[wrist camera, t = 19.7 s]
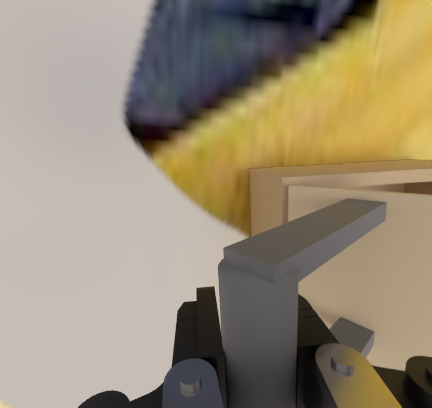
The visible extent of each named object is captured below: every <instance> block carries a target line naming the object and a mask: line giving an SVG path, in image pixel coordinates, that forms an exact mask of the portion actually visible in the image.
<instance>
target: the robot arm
mask: <svg viewBox="0 0 432 408" xmlns="http://www.w3.org/2000/svg"><path fill="white" fill-rule="evenodd" d="M78 408H227V400H226V380H225V360H224V350H223V346H222V336H221V330H220V323H219V316H218V309H217V303H216V296H215V289H214V286H213V287H203V288H197V301H193V302H192V301H191V302H184V303H183V304H182V306H181V307H180V308H179V310H178V313H177V323H176V332H175V342H174V350H173V360H172V368H171V369H170V370H169V372H168V373H167V375H166V376H165V379H164V382H163V383H162V384H161V385H160V386H159V387H158V388H157V389H155V390H154V391H152V392H150V393H148V394H146V395H144V396H142V397H140V398H137V399H135V400H133V401H129V399H128V397H127V396H126V395H125V394H123V393H121V392H119V391H105V392H102V393H98V394H96V395H94V396H92V397H91V398H89V399H87V400H86V401H85V402H83V403H82V404H81V405H80V406H79V407H78ZM296 408H432V357H428V356H413V357H411V358H409V359H408V360H407V362H406V367H405V371H402V370H396V369H390V368H383V367H378V366H373V365H371V364H370V363H369V361H368V360H367V359H366V358H365V357H364V356H363V355H362V354H361V353H359V352H358V351H356V350H355V349H353V348H351V347H348V346H346V345H342V344H340V343H339V342H338V340H337V339H336V338H335V336H334V335H333V334H332V332H331V331H330V330H329V329H328V327H327V326H326V325H325V323H324V322H323V321H322V319H321V318H320V317H318V314H317V313H316V311H315V310H314V309H313V308H312V306H311V305H310V304H309V302H308V301H307V300H306V299H305V298H304V297H302V296H301V295H299V294H298V323H297V371H296Z"/></svg>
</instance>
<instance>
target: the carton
mask: <svg viewBox="0 0 432 408" xmlns="http://www.w3.org/2000/svg"><path fill="white" fill-rule="evenodd" d="M249 175H250V221H251V237H252V236H255V235H257V234H260V233H262V232H265V231H267V230H270V229H272V228H275V227H277V226H280V225H282V224H285V223H287V222H288V193H289V185H303V186H317V187H331V188H345V189H358V190H372V191H386V192H400V193H414V194H428V195H432V160H413V159H408V160H391V161H373V162H356V163H338V164H321V165H303V166H286V167H268V168H251V169H249Z"/></svg>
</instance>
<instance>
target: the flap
mask: <svg viewBox="0 0 432 408" xmlns="http://www.w3.org/2000/svg"><path fill="white" fill-rule="evenodd" d="M218 275H219V295H220V313H221V334H222V346H223V350H224V360H225V380H226V400H227V408H296V371H297V323H298V294H299V295H301V296H302V297H304V298H305V299H306V300H307V301H308V302H309V304H310V305H311V306H312V308H313V309H314V310H315V311H316V313H317V314H318V317H320V318H321V319H322V321H323V322H324V323H325V325H326V326H327V327H328V329H329V330H330V331H331V332H332V334H333V335H334V336H335V338H336V339H337V340H338V342H339V343H340V344H342V345H346V346H348V347H351V348H353V349H355V350H356V351H358V352H359V353H361V354H362V355H363V356H364V357H365V358H366V359H367V360H368V361H369V363H370V364H371V365H373V366H378V367H383V368H390V369H396V370H402V371H405V367H406V362H407V360H408V359H409V358H411V357H413V356H428V357H432V195H428V194H414V193H400V192H386V191H372V190H358V189H345V188H331V187H317V186H303V185H289V193H288V222H287V223H285V224H282V225H280V226H277V227H275V228H272V229H270V230H267V231H265V232H262V233H260V234H257V235H255V236H252V237H250V238H247V239H245V240H242V241H240V242H237V243H235V244H232V245H230V246H227V247H225V248H224V259H223V260H221V262H220V263H219V265H218Z"/></svg>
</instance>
